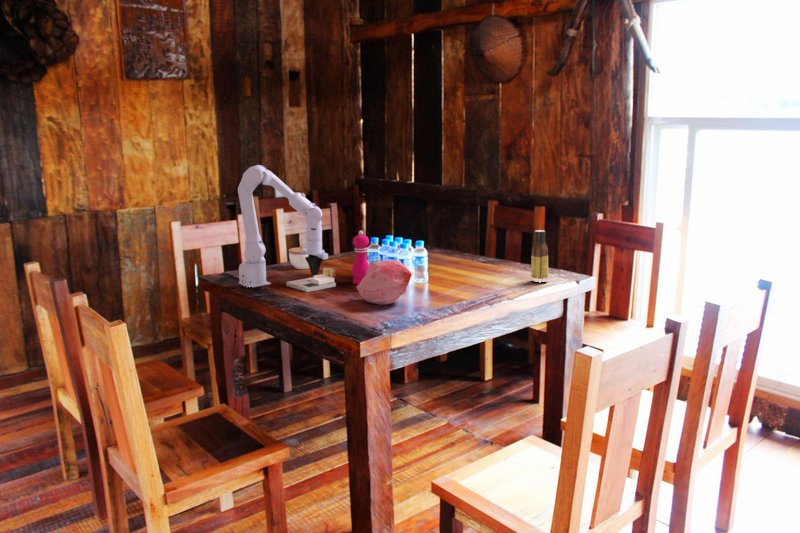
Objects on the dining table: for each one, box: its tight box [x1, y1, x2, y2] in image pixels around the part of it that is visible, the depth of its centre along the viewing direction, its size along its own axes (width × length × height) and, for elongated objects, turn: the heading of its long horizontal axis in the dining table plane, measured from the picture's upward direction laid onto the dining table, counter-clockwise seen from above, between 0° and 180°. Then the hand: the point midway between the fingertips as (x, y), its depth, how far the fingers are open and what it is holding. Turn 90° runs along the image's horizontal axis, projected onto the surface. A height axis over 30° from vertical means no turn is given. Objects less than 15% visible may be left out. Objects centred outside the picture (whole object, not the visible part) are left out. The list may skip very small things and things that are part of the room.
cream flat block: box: [310, 273, 335, 285], centre depth 253 cm, size 7×5×2 cm
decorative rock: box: [356, 259, 412, 306], centre depth 229 cm, size 19×14×15 cm
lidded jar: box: [288, 244, 310, 270], centre depth 285 cm, size 11×11×9 cm
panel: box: [285, 276, 337, 293], centre depth 254 cm, size 13×13×2 cm
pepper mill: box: [351, 230, 370, 285], centre depth 257 cm, size 7×7×20 cm
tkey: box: [322, 267, 337, 278], centre depth 262 cm, size 6×4×5 cm, turn 42°
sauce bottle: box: [530, 229, 549, 279], centre depth 260 cm, size 7×6×20 cm
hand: (314, 275), depth 256 cm, fingers closed
